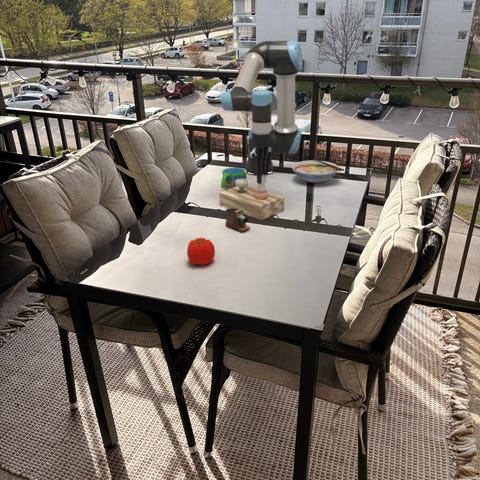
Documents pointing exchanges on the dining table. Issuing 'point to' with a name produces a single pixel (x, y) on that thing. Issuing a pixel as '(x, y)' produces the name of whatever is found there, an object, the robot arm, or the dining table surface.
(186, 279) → the dining table surface
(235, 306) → the dining table surface
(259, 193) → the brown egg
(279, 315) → the dining table surface
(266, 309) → the dining table surface
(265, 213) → the switch box
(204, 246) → the tomato
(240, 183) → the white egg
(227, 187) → the snack cup
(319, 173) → the ramen bowl
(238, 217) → the electronic device
